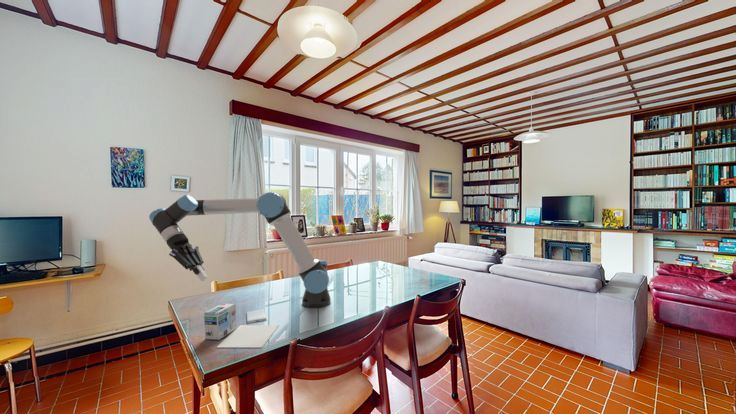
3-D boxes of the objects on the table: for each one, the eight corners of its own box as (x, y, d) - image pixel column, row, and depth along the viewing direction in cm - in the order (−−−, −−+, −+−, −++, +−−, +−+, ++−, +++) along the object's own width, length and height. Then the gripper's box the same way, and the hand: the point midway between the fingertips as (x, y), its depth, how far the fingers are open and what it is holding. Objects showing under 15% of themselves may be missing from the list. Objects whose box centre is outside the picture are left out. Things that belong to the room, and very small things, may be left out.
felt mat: (278, 325, 122) (278, 325, 122) (262, 347, 103) (262, 347, 103) (240, 325, 122) (240, 325, 122) (216, 347, 103) (216, 347, 103)
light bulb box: (219, 340, 108) (217, 312, 108) (204, 339, 109) (203, 312, 109) (237, 328, 118) (236, 303, 118) (223, 327, 120) (222, 302, 120)
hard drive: (246, 311, 136) (247, 320, 124) (264, 308, 139) (266, 317, 128) (246, 314, 136) (247, 324, 124) (264, 312, 139) (266, 321, 128)
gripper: (183, 242, 130) (212, 280, 126) (155, 245, 118) (186, 288, 113) (193, 231, 129) (221, 269, 124) (165, 233, 116) (196, 276, 112)
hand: (204, 278), depth 119 cm, fingers closed
